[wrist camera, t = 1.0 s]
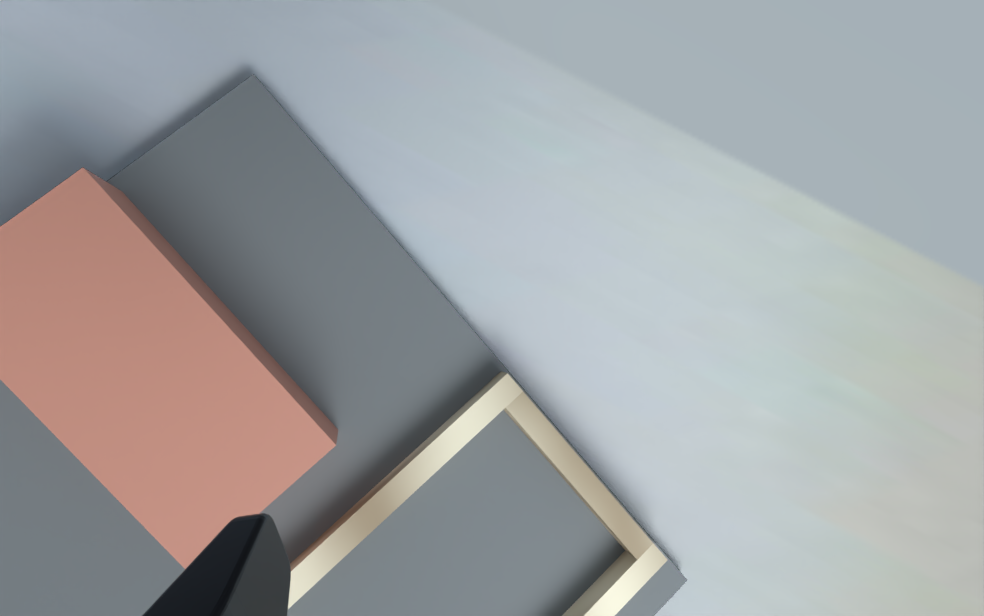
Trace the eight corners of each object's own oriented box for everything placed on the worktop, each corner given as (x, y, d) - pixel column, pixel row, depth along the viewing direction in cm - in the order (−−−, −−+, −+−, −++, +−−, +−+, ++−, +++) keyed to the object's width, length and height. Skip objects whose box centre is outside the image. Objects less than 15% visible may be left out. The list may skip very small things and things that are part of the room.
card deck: (213, 539, 20) (190, 574, 17) (-21, 296, 19) (-87, 289, 16) (338, 429, 21) (336, 445, 18) (121, 191, 20) (83, 167, 17)
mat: (320, 958, 21) (319, 972, 21) (-226, 432, 19) (-241, 434, 18) (680, 575, 24) (687, 580, 24) (255, 80, 22) (253, 74, 21)
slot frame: (362, 855, 21) (362, 880, 20) (175, 668, 20) (166, 685, 19) (654, 550, 23) (667, 559, 22) (501, 371, 23) (507, 373, 22)
